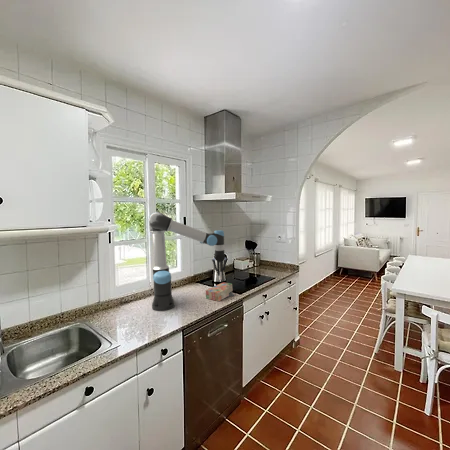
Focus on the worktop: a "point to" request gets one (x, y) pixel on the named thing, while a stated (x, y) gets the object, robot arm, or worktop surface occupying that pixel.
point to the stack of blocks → (219, 291)
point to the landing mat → (230, 294)
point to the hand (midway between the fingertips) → (220, 279)
